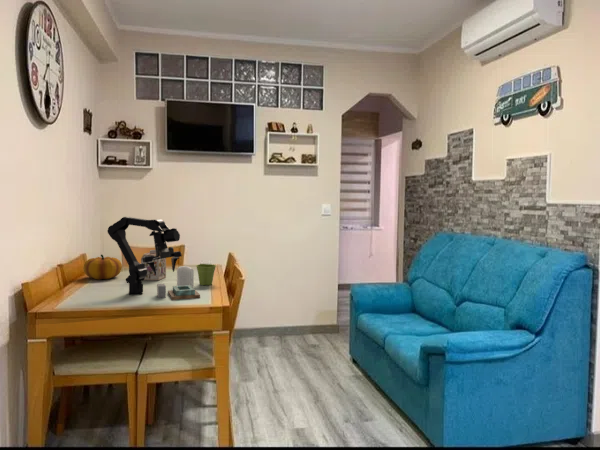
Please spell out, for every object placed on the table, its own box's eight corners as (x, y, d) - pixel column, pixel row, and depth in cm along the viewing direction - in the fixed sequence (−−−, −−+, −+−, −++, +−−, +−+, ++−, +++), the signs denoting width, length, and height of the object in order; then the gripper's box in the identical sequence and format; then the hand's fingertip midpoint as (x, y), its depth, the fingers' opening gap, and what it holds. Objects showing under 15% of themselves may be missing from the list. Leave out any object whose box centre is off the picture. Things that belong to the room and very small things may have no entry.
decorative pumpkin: (122, 280, 276) (121, 255, 275) (82, 281, 268) (81, 256, 267) (122, 274, 295) (121, 251, 294) (84, 276, 286) (84, 252, 285)
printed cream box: (194, 288, 255) (194, 266, 254) (189, 289, 252) (189, 267, 251) (181, 286, 260) (181, 264, 260) (175, 287, 257) (175, 265, 256)
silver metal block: (158, 298, 230) (158, 286, 229) (157, 295, 236) (157, 283, 236) (165, 297, 231) (165, 286, 231) (164, 294, 237) (164, 283, 237)
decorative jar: (166, 277, 287) (166, 249, 286) (159, 280, 275) (158, 251, 274) (148, 276, 288) (148, 248, 287) (140, 280, 276) (140, 250, 275)
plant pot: (211, 286, 260) (211, 267, 259) (192, 285, 262) (192, 266, 261) (219, 283, 271) (219, 264, 270) (200, 282, 274) (200, 263, 273)
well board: (171, 299, 226) (171, 291, 226) (167, 293, 241) (167, 285, 240) (200, 297, 231) (200, 290, 231) (194, 291, 246) (194, 284, 246)
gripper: (145, 246, 222) (150, 277, 222) (182, 240, 231) (187, 270, 232) (140, 246, 231) (145, 276, 231) (176, 240, 241) (180, 269, 241)
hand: (164, 273), depth 234 cm, fingers open, 9 cm apart
